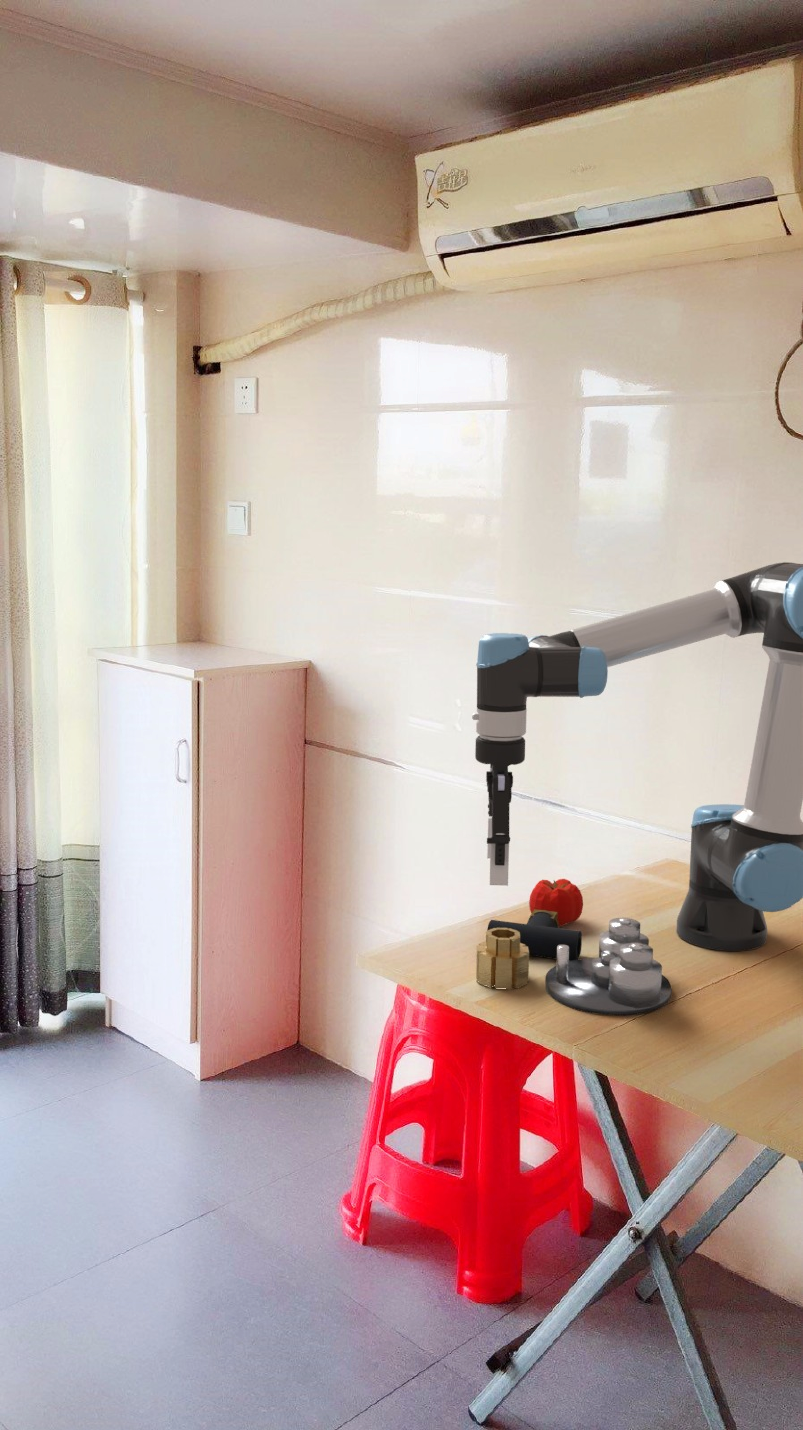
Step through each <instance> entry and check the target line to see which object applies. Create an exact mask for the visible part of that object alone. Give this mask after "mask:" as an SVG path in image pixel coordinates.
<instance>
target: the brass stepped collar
mask: <svg viewBox="0 0 803 1430" xmlns="http://www.w3.org/2000/svg"><path fill="white" fill-rule="evenodd" d="M529 964H530V955H529V949H528V946H526V945H525V944H522V943H520V932H519V931H517V930H514V929H511V928H509V929H508V928H493V929H490V930H487V929H486V931H485V941H483V942H480V943H478V944H477V945H476V964H475V966H476V967H475V971H476V972H475V977H476V979H477V980H476V982H477V981H479V982H478V984H479V983H480V984H483V985H487V986H489V987H492V986H494V985H495V987H494V989H495V988H506V989H513V988H512V987H515V988H518V987H520V986H522V987H524V986H523V985H525V986H527V985H528V984H529V972H530V971H529V969H530V965H529ZM480 984H479V985H480ZM483 985H482V986H483ZM520 988H521V987H520ZM518 989H519V988H518Z"/></svg>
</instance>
